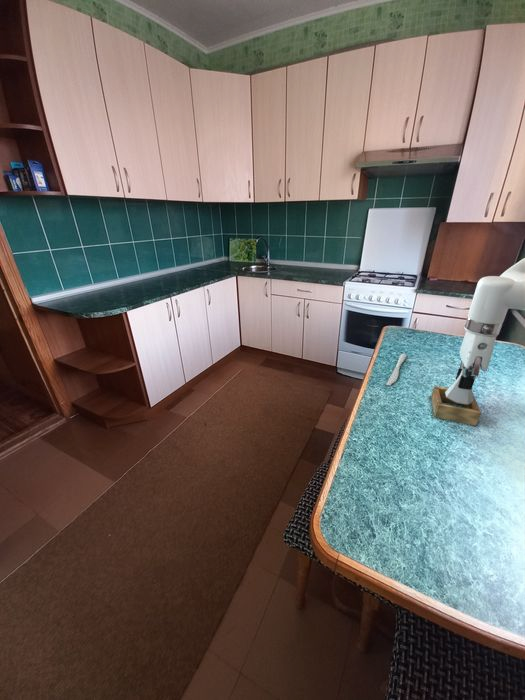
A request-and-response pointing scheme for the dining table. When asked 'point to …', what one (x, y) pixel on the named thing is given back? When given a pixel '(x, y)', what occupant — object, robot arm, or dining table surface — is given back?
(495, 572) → the dining table surface
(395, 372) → the butter knife
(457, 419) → the square wooden frame
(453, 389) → the flask
